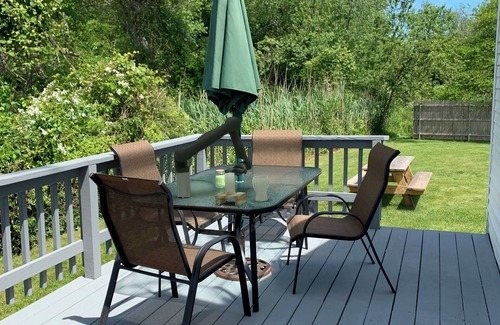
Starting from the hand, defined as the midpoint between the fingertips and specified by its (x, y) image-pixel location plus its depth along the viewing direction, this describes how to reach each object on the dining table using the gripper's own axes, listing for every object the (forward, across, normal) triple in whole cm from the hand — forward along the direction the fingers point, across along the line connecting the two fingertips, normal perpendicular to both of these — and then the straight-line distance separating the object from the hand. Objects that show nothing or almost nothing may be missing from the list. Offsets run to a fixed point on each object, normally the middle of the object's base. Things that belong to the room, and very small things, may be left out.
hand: (233, 173), depth 327 cm
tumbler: (+12, 0, +11) cm, 17 cm away
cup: (+3, +18, +17) cm, 25 cm away
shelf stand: (+12, +1, +17) cm, 21 cm away
